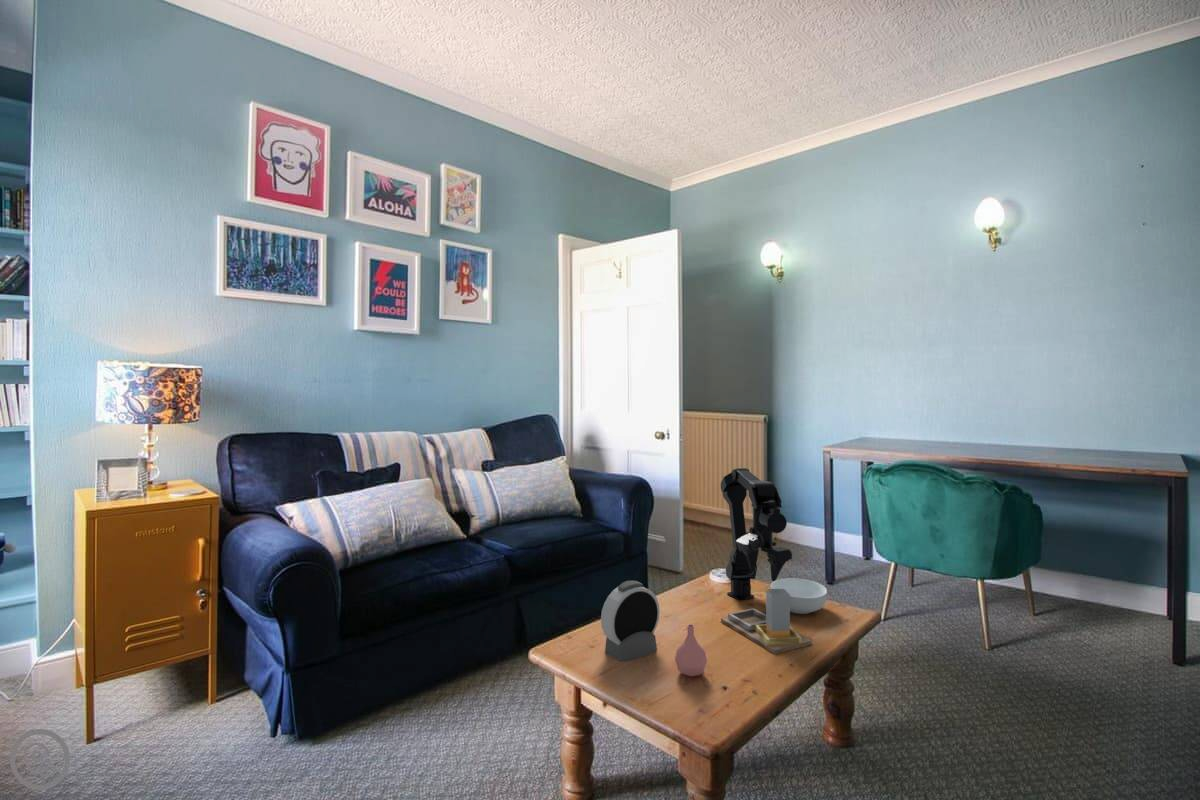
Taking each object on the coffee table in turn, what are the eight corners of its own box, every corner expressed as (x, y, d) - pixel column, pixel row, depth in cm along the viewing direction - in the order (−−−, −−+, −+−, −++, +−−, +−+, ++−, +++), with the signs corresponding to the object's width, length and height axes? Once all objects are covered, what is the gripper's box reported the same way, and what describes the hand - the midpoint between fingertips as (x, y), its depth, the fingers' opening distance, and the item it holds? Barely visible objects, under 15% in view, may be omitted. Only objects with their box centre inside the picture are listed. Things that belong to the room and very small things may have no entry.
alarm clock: (617, 665, 147) (616, 594, 147) (595, 650, 156) (594, 583, 155) (666, 649, 156) (666, 581, 156) (643, 635, 165) (642, 571, 164)
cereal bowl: (759, 604, 187) (759, 582, 186) (798, 595, 194) (798, 574, 193) (798, 624, 171) (798, 600, 171) (839, 614, 178) (839, 591, 178)
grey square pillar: (766, 633, 163) (766, 589, 162) (783, 632, 163) (783, 588, 163) (771, 640, 158) (771, 595, 158) (789, 639, 159) (789, 594, 158)
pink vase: (685, 663, 148) (685, 616, 148) (712, 672, 143) (712, 624, 143) (669, 675, 142) (668, 627, 142) (696, 685, 137) (696, 635, 137)
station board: (720, 621, 173) (720, 613, 173) (755, 613, 179) (755, 605, 179) (775, 654, 152) (775, 645, 152) (812, 644, 158) (812, 635, 158)
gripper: (721, 521, 179) (721, 571, 180) (762, 535, 162) (762, 590, 163) (750, 517, 184) (750, 566, 184) (793, 530, 167) (793, 584, 168)
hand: (762, 576), depth 175 cm, fingers open, 9 cm apart
